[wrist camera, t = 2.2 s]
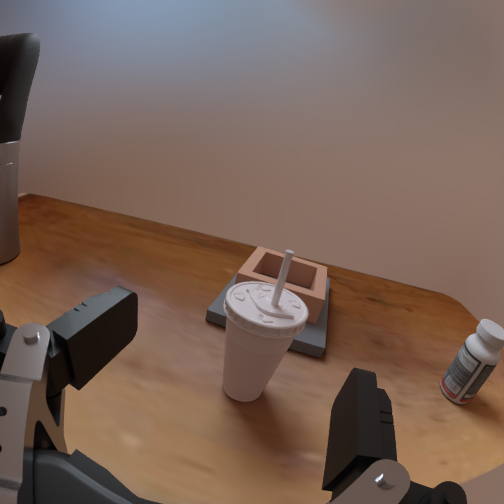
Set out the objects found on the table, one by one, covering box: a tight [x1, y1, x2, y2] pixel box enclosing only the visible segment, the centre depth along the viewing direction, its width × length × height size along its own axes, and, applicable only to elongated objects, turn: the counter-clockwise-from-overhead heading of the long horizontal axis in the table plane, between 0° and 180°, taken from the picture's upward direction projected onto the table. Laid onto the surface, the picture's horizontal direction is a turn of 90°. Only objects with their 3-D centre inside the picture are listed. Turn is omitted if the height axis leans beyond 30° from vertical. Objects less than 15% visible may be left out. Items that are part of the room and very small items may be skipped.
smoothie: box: [222, 250, 308, 402], centre depth 23 cm, size 6×6×14 cm
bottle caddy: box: [206, 246, 330, 358], centre depth 41 cm, size 14×20×5 cm
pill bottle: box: [440, 319, 504, 404], centre depth 26 cm, size 6×6×10 cm
